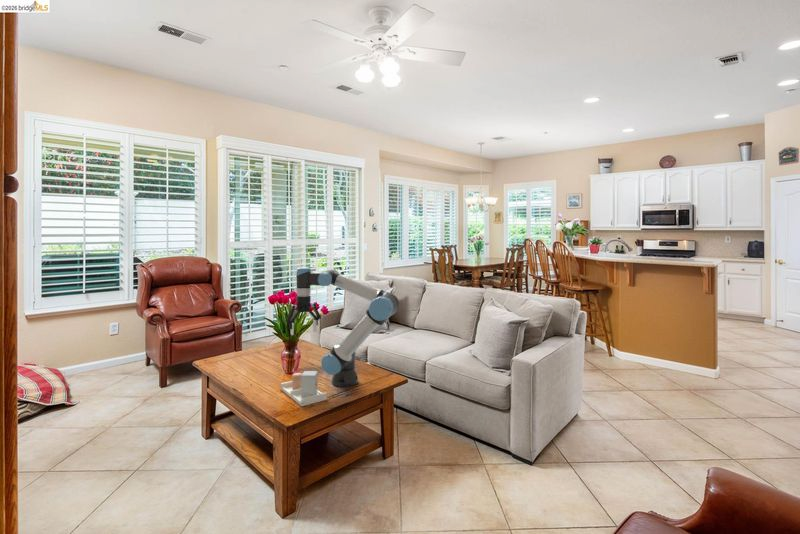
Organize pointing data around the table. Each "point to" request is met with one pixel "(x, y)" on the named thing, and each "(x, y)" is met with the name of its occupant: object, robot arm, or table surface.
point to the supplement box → (308, 384)
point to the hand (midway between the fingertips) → (303, 333)
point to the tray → (294, 391)
